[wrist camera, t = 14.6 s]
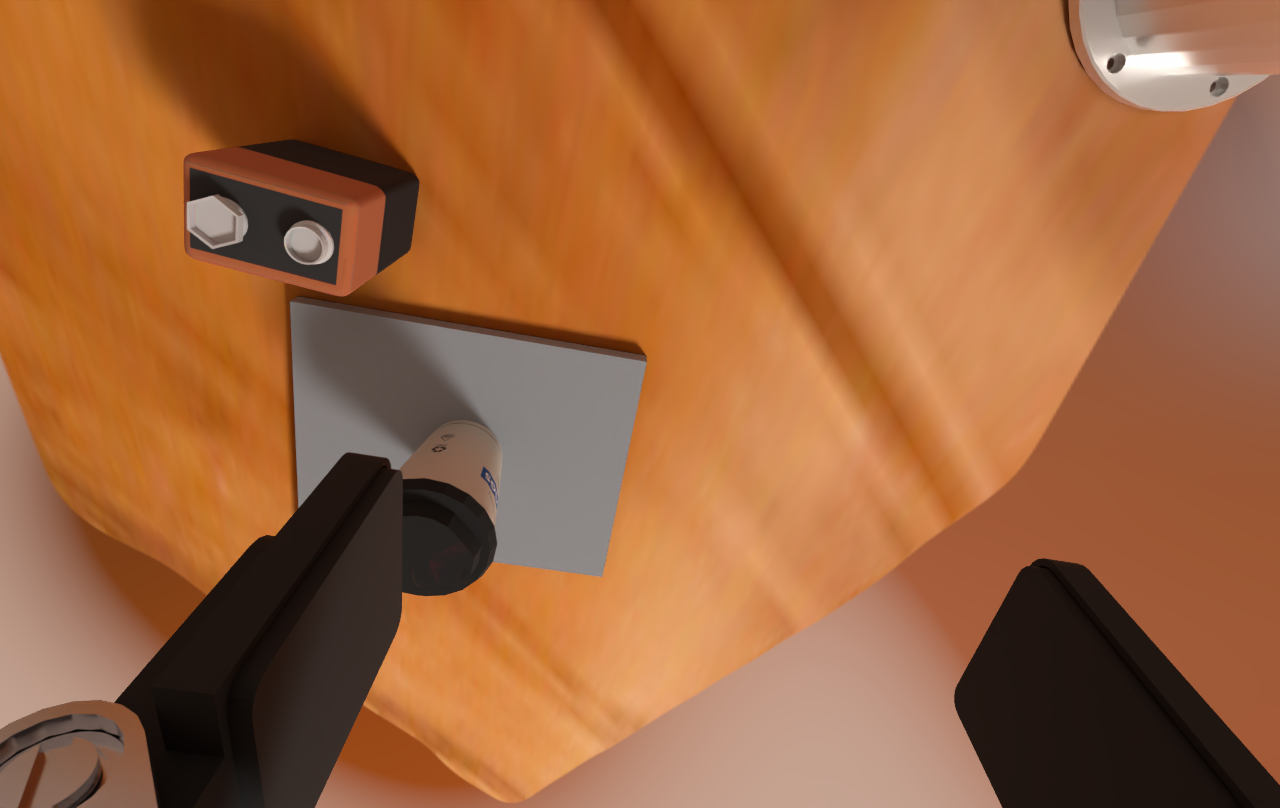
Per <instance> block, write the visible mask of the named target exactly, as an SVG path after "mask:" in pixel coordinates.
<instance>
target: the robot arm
mask: <svg viewBox="0 0 1280 808" xmlns="http://www.w3.org/2000/svg"><path fill="white" fill-rule="evenodd" d="M1068 4H1069V22H1070V31H1071V35H1072V39H1073V43H1074V46H1075V50H1076V53H1077V55H1078V57H1079V59H1080V61H1081V63H1082V65H1083V67H1084V69H1085V71H1086V73H1087V74H1088V75H1089V77H1090V78H1091V79H1092V80H1093V81H1094V82H1095V84H1096V85H1097V86H1098V87H1099V88H1100V89H1101V90H1102V91H1103V92H1105V93H1106V94H1108V95H1109V96H1111V97H1112V98H1114V99H1115V100H1117V101H1118V102H1121V103H1123V104H1126V105H1129V106H1132V107H1135V108H1137V109H1143V110H1153V111H1189V110H1194V109H1198V108H1203V107H1208V106H1212V105H1215V104H1217V103H1220V102H1222V101H1225V100H1227V99H1230V98H1232V97H1235V96H1237V95H1239V94H1241V93H1242V92H1244V91H1246V90H1248V89H1249V88H1251V87H1253V86H1255V85H1256V84H1258V83H1260V82H1261V81H1263V80H1264V79H1265V78H1267V77H1268V76H1269V75H1271V74H1280V0H1068ZM1107 63H1108V66H1107ZM402 522H403V475H402V472H401V471H400V470H396V469H391V463H390V460H389V459H388V458H384V457H378V456H371V455H365V454H358V453H352V452H348V453H345V454H344V455H343V456H342V457H341V458H340V459H339V460H338V461H337V463H336V464H335V465H334V466H333V467H332V469H331V470H330V471H329V472H328V474H327V475H326V476H325V477H324V478H323V480H322V481H321V482H320V483H319V484H318V486H317V487H316V488H315V489H314V490H313V492H312V493H311V494H310V495H309V496H308V498H307V499H306V500H305V501H304V502H303V504H302V505H301V506H300V507H299V508H298V510H297V511H296V512H295V513H294V514H293V516H292V517H291V518H290V519H289V520H288V522H287V523H286V524H285V525H284V526H283V528H282V529H281V530H280V531H279V532H278V534H277V535H276V536H269V535H266V536H263V537H260V538H258V539H257V540H256V541H255V542H254V543H253V544H252V545H251V546H250V547H249V548H248V549H247V550H246V551H245V552H244V554H243V555H242V556H241V557H240V558H239V559H238V561H237V562H236V563H235V564H234V565H233V566H232V567H231V569H230V570H229V571H228V572H227V573H226V574H225V576H224V577H223V578H222V579H221V580H220V581H219V582H218V584H217V585H216V586H215V587H214V588H213V589H212V590H211V592H210V593H209V594H208V595H207V596H206V597H205V599H204V600H203V601H202V602H201V603H200V604H199V605H198V607H197V608H196V609H195V610H194V611H193V612H192V613H191V615H190V616H189V617H188V618H187V619H186V620H185V622H184V623H183V624H182V625H181V626H180V627H179V628H178V630H177V631H176V632H175V633H174V634H173V635H172V637H171V638H170V639H169V640H168V641H167V642H166V643H165V645H164V646H163V647H162V648H161V649H160V650H159V651H158V653H157V654H156V655H155V656H154V657H153V659H152V660H151V661H150V662H149V663H148V664H147V665H146V667H145V668H144V669H143V670H142V671H141V672H140V674H139V675H138V676H137V677H136V678H135V679H134V680H133V682H132V683H131V684H130V685H129V686H128V687H127V688H126V690H125V691H124V692H123V693H122V694H121V695H120V696H119V698H118V699H117V700H116V701H115V702H114V703H111V702H107V701H102V700H92V701H74V702H69V703H65V704H61V705H57V706H53V707H50V708H45V709H42V710H40V711H37V712H35V713H32V714H30V715H28V716H26V717H23V718H21V719H19V720H16V721H14V722H12V723H10V724H8V725H6V726H5V727H3V728H2V729H1V730H0V808H315V805H316V804H317V801H318V799H319V797H320V795H321V793H322V791H323V789H324V787H325V784H326V782H327V780H328V778H329V776H330V774H331V771H332V769H333V767H334V765H335V763H336V761H337V759H338V757H339V754H340V752H341V750H342V748H343V746H344V744H345V742H346V739H347V737H348V735H349V733H350V731H351V729H352V727H353V724H354V722H355V720H356V718H357V716H358V714H359V712H360V709H361V707H362V705H363V703H364V701H365V699H366V697H367V695H368V692H369V690H370V688H371V686H372V684H373V682H374V680H375V677H376V675H377V673H378V671H379V669H380V667H381V665H382V663H383V660H384V658H385V656H386V654H387V652H388V650H389V648H390V645H391V643H392V641H393V639H394V637H395V635H396V632H397V629H398V626H399V622H400V618H401V612H402ZM954 699H955V700H954V702H955V707H956V710H957V713H958V716H959V718H960V720H961V722H962V724H963V726H964V728H965V730H966V732H967V734H968V736H969V738H970V741H971V743H972V745H973V747H974V749H975V751H976V753H977V755H978V757H979V760H980V761H981V764H982V765H983V768H984V770H985V772H986V774H987V776H988V778H989V780H990V783H991V785H992V787H993V789H994V791H995V793H996V795H997V797H998V799H999V801H1000V803H1001V806H1002V808H1280V785H1279V784H1278V783H1277V782H1276V781H1275V779H1274V778H1273V777H1272V776H1271V775H1270V774H1269V773H1268V772H1267V770H1266V769H1265V768H1264V767H1263V766H1262V765H1261V764H1260V762H1259V761H1258V760H1257V759H1256V758H1255V757H1254V756H1253V755H1252V753H1251V752H1250V751H1249V750H1248V749H1247V748H1246V747H1245V746H1244V744H1243V743H1242V742H1241V741H1240V740H1239V739H1238V738H1237V736H1236V735H1235V734H1234V733H1233V732H1232V731H1231V730H1230V729H1229V728H1228V727H1227V725H1226V724H1225V723H1224V722H1223V721H1222V720H1221V718H1220V717H1219V716H1218V715H1217V714H1216V713H1215V712H1214V711H1213V709H1212V708H1211V707H1210V706H1209V705H1208V704H1207V703H1206V702H1205V700H1203V698H1202V697H1201V696H1200V695H1199V694H1198V692H1197V691H1196V690H1195V689H1194V688H1193V687H1192V686H1191V685H1190V683H1189V682H1188V681H1187V680H1186V679H1185V678H1184V677H1183V676H1182V674H1181V673H1180V672H1179V671H1178V670H1177V669H1176V668H1175V667H1174V666H1173V664H1172V663H1171V662H1170V661H1169V660H1168V659H1167V657H1166V656H1165V655H1164V654H1163V653H1162V652H1161V651H1160V650H1159V648H1158V647H1157V646H1156V645H1155V644H1154V643H1153V642H1152V641H1151V640H1150V638H1149V637H1148V636H1147V635H1146V634H1145V633H1144V631H1143V630H1142V629H1141V628H1140V627H1139V626H1138V625H1137V624H1136V622H1135V621H1134V620H1133V619H1132V618H1131V617H1130V616H1129V615H1128V613H1127V612H1126V611H1125V610H1124V609H1123V608H1122V607H1121V605H1120V604H1119V603H1118V602H1117V601H1116V600H1115V599H1114V598H1113V596H1112V595H1111V594H1110V593H1109V592H1108V591H1107V590H1106V589H1105V587H1104V586H1103V585H1102V584H1101V583H1100V582H1099V581H1098V579H1097V578H1096V577H1095V576H1094V575H1093V574H1092V573H1091V572H1090V570H1088V569H1087V568H1086V567H1085V566H1083V565H1080V564H1077V563H1070V562H1064V561H1057V560H1050V559H1038V560H1036V561H1034V562H1033V563H1032V564H1031V565H1030V566H1027V567H1025V568H1023V569H1022V570H1021V571H1020V572H1019V574H1018V576H1017V578H1016V580H1015V581H1014V583H1013V585H1012V587H1011V588H1010V590H1009V592H1008V594H1007V596H1006V597H1005V599H1004V601H1003V603H1002V605H1001V607H1000V608H999V610H998V612H997V614H996V616H995V617H994V619H993V621H992V623H991V625H990V627H989V628H988V630H987V632H986V634H985V636H984V637H983V639H982V641H981V643H980V645H979V646H978V648H977V650H976V652H975V654H974V655H973V657H972V659H971V661H970V663H969V664H968V666H967V668H966V670H965V672H964V674H963V675H962V677H961V679H960V681H959V683H958V684H957V687H956V689H955V695H954Z"/></svg>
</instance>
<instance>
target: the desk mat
mask: <svg viewBox="0 0 1280 808" xmlns="http://www.w3.org/2000/svg"><path fill="white" fill-rule="evenodd" d="M290 317H291V341H292V365H293V389H294V413H295V437H296V462H297V486H298V508H299V507H300V506H301V505H302V504H303V502H304V501H305V500H306V499H307V498H308V496H309V495H310V494H311V493H312V492H313V490H314V489H315V488H316V487H317V486H318V484H319V483H320V482H321V481H322V480H323V478H324V477H325V476H326V475H327V474H328V472H329V471H330V470H331V469H332V467H333V466H334V465H335V464H336V463H337V461H338V460H339V459H340V458H341V457H342V456H343V455H344V454H345V453H348V452H352V453H358V454H365V455H371V456H378V457H384V458H388V459H389V460H390V463H391V469H396V470H399V469H400V468H401V467H402V465H403V464H404V463H405V462H406V461H407V460H408V459H409V458H410V457H411V456H412V455H413V454H414V452H415V451H416V450H417V449H418V448H419V447H420V446H421V445H422V444H423V443H424V442H425V440H426V439H427V438H428V437H429V436H430V435H431V434H432V433H433V432H434V431H435V430H436V429H437V428H439V427H440V426H441V425H442V424H444V423H447V422H450V421H453V420H468V421H472V422H477V423H479V424H481V425H483V426H484V427H486V428H488V429H489V430H490V431H491V432H492V433H493V434H494V435H495V436H496V437H497V439H498V441H499V443H500V445H501V448H502V455H503V459H502V468H501V477H500V486H499V495H498V504H497V513H496V522H495V532H496V539H497V547H496V552H495V556H494V560H493V562H498V563H505V564H512V565H520V566H527V567H534V568H541V569H549V570H556V571H563V572H570V573H578V574H585V575H592V576H600V577H602V575H603V571H604V566H605V561H606V556H607V551H608V546H609V542H610V537H611V532H612V527H613V522H614V518H615V513H616V508H617V503H618V498H619V493H620V489H621V484H622V479H623V474H624V469H625V464H626V460H627V455H628V450H629V445H630V440H631V435H632V431H633V426H634V421H635V416H636V411H637V406H638V402H639V397H640V392H641V387H642V382H643V377H644V373H645V368H646V363H647V359H646V355H640V354H634V353H628V352H622V351H616V350H610V349H605V348H599V347H593V346H587V345H581V344H575V343H569V342H564V341H558V340H552V339H546V338H540V337H534V336H528V335H522V334H517V333H511V332H505V331H499V330H493V329H487V328H481V327H476V326H470V325H464V324H458V323H452V322H446V321H440V320H435V319H429V318H423V317H417V316H411V315H405V314H399V313H394V312H388V311H382V310H376V309H370V308H364V307H358V306H353V305H347V304H341V303H335V302H329V301H323V300H317V299H312V298H306V297H300V296H298V297H296V298H294V299H293V300H291V301H290Z"/></svg>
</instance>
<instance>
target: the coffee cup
mask: <svg viewBox="0 0 1280 808" xmlns="http://www.w3.org/2000/svg"><path fill="white" fill-rule="evenodd" d="M502 459H503V455H502V448H501V445H500V443H499V441H498V439H497V437H496V436H495V435H494V434H493V433H492V432H491V431H490V430H489V429H488V428H486V427H484V426H483V425H481V424H479V423H477V422H472V421H468V420H453V421H450V422H447V423H444V424H442V425H441V426H440V427H439V428H437V429H436V430H435V431H434V432H433V433H432V434H431V435H430V436H429V437H428V438H427V439H426V440H425V442H424V443H423V444H422V445H421V446H420V447H419V448H418V449H417V450H416V451H415V452H414V454H413V455H412V456H411V457H410V458H409V459H408V460H407V461H406V462H405V463H404V464H403V465H402V467H401V468H400V469H399V470H400V471H401V472H402V475H403V522H402V592H404V593H409V594H414V595H422V596H437V595H447V594H450V593H453V592H457V591H460V590H463V589H464V588H466V587H467V586H469V585H470V584H472V583H473V582H475V581H476V580H477V579H479V578H480V577H481V576H482V575H483V574H484V573H485V571H486V570H487V569H488V567H489V566H490V565H491V563H492V562H493V560H494V556H495V552H496V547H497V539H496V532H495V522H496V513H497V504H498V495H499V486H500V477H501V468H502Z"/></svg>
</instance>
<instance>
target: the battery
mask: <svg viewBox="0 0 1280 808" xmlns="http://www.w3.org/2000/svg"><path fill="white" fill-rule="evenodd" d="M418 190H419V180H418V178H417V177H416V176H415V175H414V174H412V173H409V172H406V171H403V170H400V169H396V168H393V167H389V166H386V165H382V164H379V163H375V162H372V161H368V160H365V159H361V158H358V157H354V156H351V155H347V154H344V153H340V152H337V151H333V150H330V149H326V148H323V147H319V146H316V145H312V144H309V143H305V142H302V141H298V140H284V141H277V142H270V143H262V144H255V145H248V146H240V147H233V148H226V149H218V150H211V151H204V152H197V153H192V154H189V155H187V156H186V157H185V158H184V243H185V251H186V253H187V254H188V255H189V256H190V257H192V258H194V259H197V260H200V261H203V262H207V263H211V264H215V265H219V266H222V267H226V268H230V269H234V270H238V271H242V272H246V273H250V274H253V275H257V276H261V277H265V278H269V279H273V280H277V281H281V282H285V283H288V284H292V285H296V286H300V287H304V288H308V289H312V290H316V291H319V292H323V293H327V294H331V295H336V296H346V295H349V294H350V293H352V292H353V291H354V290H356V289H357V288H359V287H360V286H361V285H363V284H364V283H366V282H367V281H368V280H370V279H371V278H372V277H374V276H375V275H377V274H378V273H379V272H381V271H382V270H384V269H385V268H386V267H388V266H389V265H391V264H392V263H393V262H395V261H396V260H398V259H399V258H400V257H402V256H403V255H405V254H406V253H407V252H408V251H409V250H410V248H411V242H412V234H413V227H414V220H415V212H416V205H417V197H418Z"/></svg>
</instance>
